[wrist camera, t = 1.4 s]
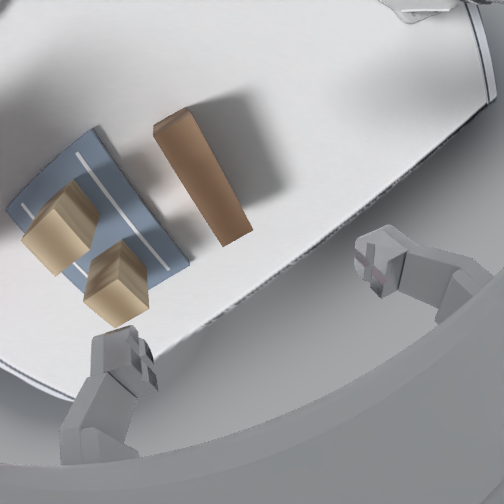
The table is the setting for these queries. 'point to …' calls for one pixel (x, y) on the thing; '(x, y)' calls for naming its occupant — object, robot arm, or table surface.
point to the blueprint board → (102, 211)
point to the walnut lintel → (201, 175)
